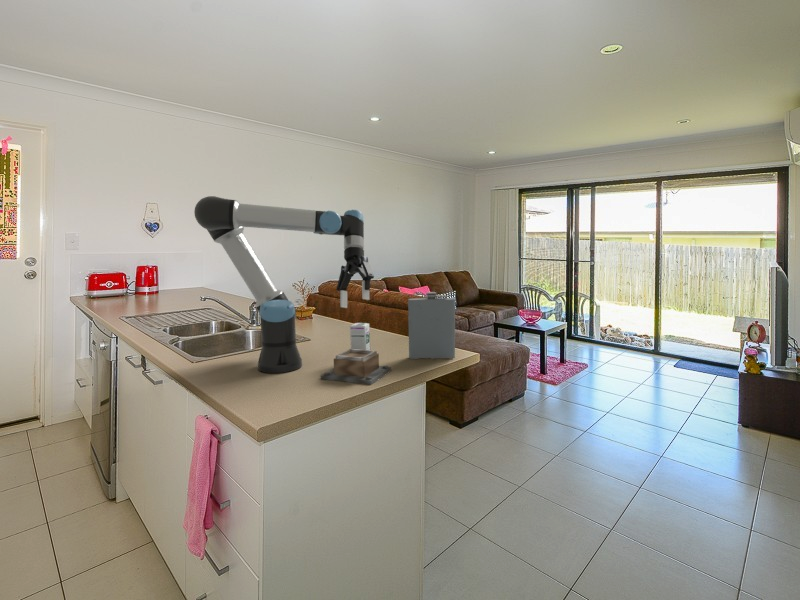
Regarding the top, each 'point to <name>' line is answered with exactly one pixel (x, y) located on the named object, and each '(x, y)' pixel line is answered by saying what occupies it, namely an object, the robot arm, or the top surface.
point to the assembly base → (357, 379)
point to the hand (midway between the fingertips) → (354, 303)
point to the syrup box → (360, 336)
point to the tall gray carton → (431, 327)
